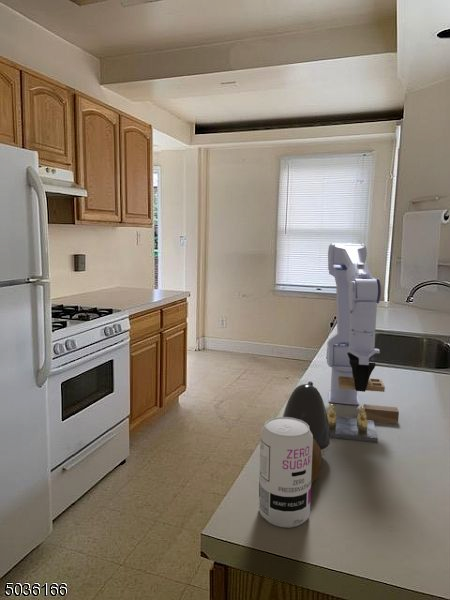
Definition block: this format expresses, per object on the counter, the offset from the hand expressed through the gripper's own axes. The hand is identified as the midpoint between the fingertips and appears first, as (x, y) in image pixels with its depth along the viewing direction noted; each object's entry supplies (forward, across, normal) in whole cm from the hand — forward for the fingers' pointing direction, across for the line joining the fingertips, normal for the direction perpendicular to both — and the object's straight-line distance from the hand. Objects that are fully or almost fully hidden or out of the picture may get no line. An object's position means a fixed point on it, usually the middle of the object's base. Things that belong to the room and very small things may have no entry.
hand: (359, 386), depth 103 cm
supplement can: (+10, -38, +14) cm, 42 cm away
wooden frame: (0, 0, 0) cm, 0 cm away
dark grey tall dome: (+10, -18, +12) cm, 24 cm away
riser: (+10, +6, -6) cm, 13 cm away
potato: (+10, -28, +13) cm, 32 cm away
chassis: (+10, -2, +3) cm, 11 cm away
